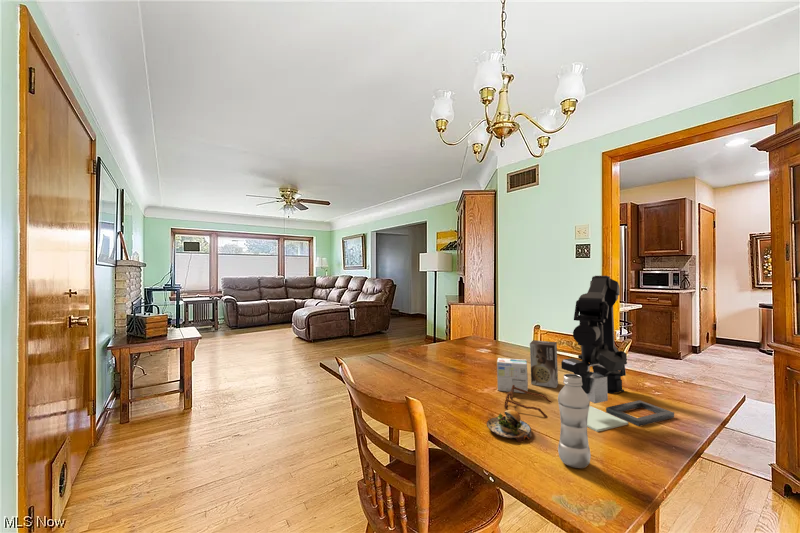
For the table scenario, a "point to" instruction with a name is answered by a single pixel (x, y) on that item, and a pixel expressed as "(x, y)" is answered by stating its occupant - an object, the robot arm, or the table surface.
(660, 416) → the socket frame
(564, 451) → the plastic bottle
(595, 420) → the felt pad
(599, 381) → the block
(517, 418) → the burger
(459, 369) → the table surface
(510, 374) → the light bulb box
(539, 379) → the coffee box
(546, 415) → the glasses
